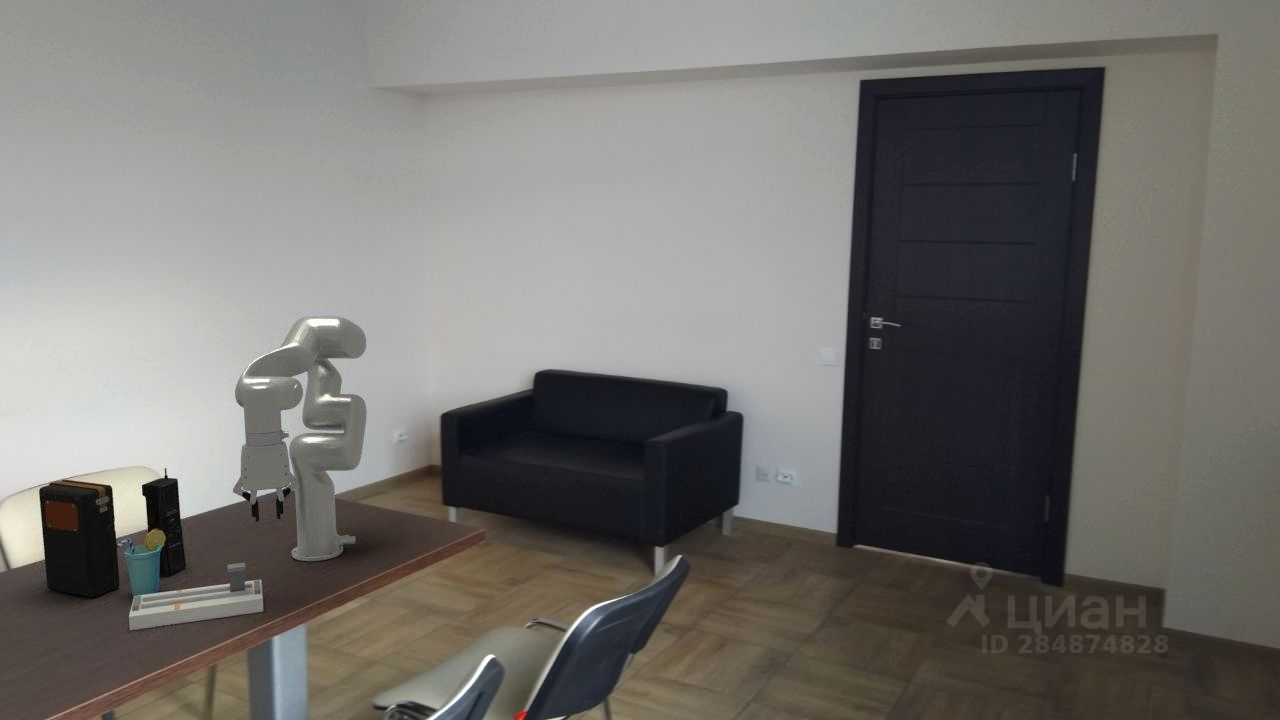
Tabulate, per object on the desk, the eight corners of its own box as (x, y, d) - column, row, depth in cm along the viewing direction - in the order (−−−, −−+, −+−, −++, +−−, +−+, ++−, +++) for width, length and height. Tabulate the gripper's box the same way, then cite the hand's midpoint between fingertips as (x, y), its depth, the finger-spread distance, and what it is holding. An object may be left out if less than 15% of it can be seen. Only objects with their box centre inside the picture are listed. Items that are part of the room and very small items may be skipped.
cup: (137, 608, 210) (133, 543, 207) (106, 606, 211) (101, 541, 209) (178, 585, 223) (174, 523, 221) (148, 582, 224) (144, 521, 222)
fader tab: (246, 587, 214) (245, 562, 213) (246, 591, 211) (245, 566, 210) (229, 589, 212) (227, 564, 211) (229, 594, 210) (227, 568, 209)
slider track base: (261, 591, 219) (261, 575, 219) (263, 611, 209) (262, 594, 208) (135, 608, 209) (133, 591, 209) (129, 630, 198) (128, 612, 198)
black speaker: (125, 587, 222) (117, 483, 218) (93, 601, 214) (84, 493, 210) (74, 578, 227) (66, 476, 223) (41, 591, 219) (32, 486, 215)
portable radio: (166, 579, 227) (159, 477, 223) (144, 577, 228) (137, 475, 224) (188, 567, 235) (181, 469, 231) (166, 565, 236) (160, 467, 232)
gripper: (302, 431, 216) (306, 509, 219) (222, 437, 210) (227, 518, 212) (305, 438, 209) (308, 519, 212) (222, 445, 203) (227, 528, 205)
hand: (267, 517), depth 212 cm, fingers open, 3 cm apart
